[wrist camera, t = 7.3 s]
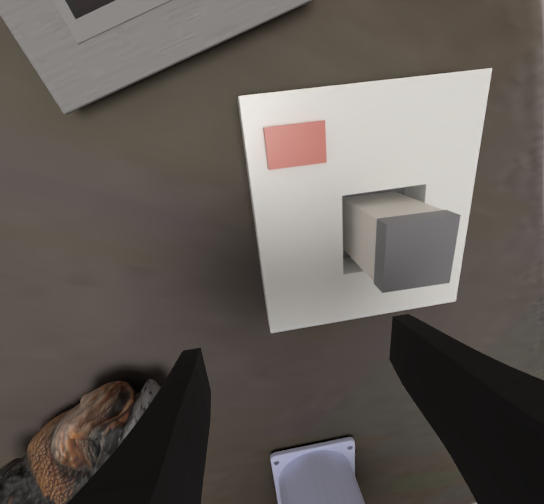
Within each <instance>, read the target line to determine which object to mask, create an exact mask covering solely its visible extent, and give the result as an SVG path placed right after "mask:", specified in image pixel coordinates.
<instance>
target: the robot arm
mask: <svg viewBox="0 0 544 504" xmlns="http://www.w3.org/2000/svg"><path fill="white" fill-rule="evenodd" d="M390 361H391V363H392V365H393V367H394V369H395V371H396V373H397V375H398V377H399V379H400V380H401V382H402V384H403V386H404V387H405V389H406V390H407V392H408V393H409V395H410V396H411V398H412V399H413V401H414V402H415V403H416V405H417V406H418V408H419V409H420V411H421V412H422V414H423V415H424V417H425V418H426V419H427V421H428V422H429V424H430V425H431V427H432V428H433V430H434V431H435V432H436V434H437V435H438V437H439V438H440V440H441V441H442V443H443V444H444V446H445V447H446V449H447V451H448V452H449V454H450V455H451V457H452V459H453V460H454V462H455V464H456V466H457V467H458V469H459V471H460V473H461V474H462V476H463V478H464V480H465V482H466V483H467V485H468V487H469V489H470V490H471V492H472V494H473V496H474V498H475V500H476V502H477V503H478V504H544V380H541V379H539V378H536V377H534V376H531V375H529V374H527V373H524V372H522V371H519V370H517V369H515V368H512V367H510V366H508V365H506V364H504V363H501V362H499V361H497V360H495V359H493V358H491V357H489V356H487V355H485V354H483V353H481V352H479V351H477V350H475V349H473V348H471V347H469V346H467V345H465V344H463V343H461V342H459V341H457V340H455V339H454V338H452V337H450V336H448V335H446V334H444V333H443V332H441V331H439V330H437V329H435V328H433V327H432V326H430V325H428V324H426V323H424V322H422V321H421V320H419V319H417V318H415V317H413V316H411V315H409V314H406V315H400V316H394V317H393V320H392V333H391V346H390ZM210 411H211V390H210V385H209V381H208V377H207V373H206V369H205V364H204V360H203V356H202V352H201V348H197V349H191V350H185V351H183V352H182V353H181V355H180V356H179V358H178V360H177V361H176V363H175V365H174V367H173V368H172V370H171V372H170V373H169V375H168V377H167V378H166V380H165V381H164V383H163V385H162V386H161V388H160V389H159V391H158V392H157V394H156V395H155V397H154V398H153V400H152V401H151V403H150V404H149V406H148V407H147V409H146V410H145V411H144V413H143V414H142V416H141V417H140V418H139V420H138V421H137V423H136V424H135V425H134V427H133V428H132V429H131V431H130V432H129V433H128V435H127V436H126V437H125V438H124V440H123V441H122V442H121V443H120V445H119V446H118V447H117V448H116V450H115V451H114V452H113V453H112V454H111V456H110V457H109V458H108V459H107V460H106V461H105V463H104V464H103V465H102V466H101V467H100V468H99V469H98V470H97V472H96V473H95V474H94V475H93V476H92V477H91V478H90V479H89V480H88V481H87V483H86V484H85V485H84V486H83V487H82V488H81V489H80V490H79V491H78V492H77V493H76V494H75V496H74V497H73V498H72V499H71V500H70V501H69V502H68V503H67V504H201V495H202V485H203V477H204V469H205V460H206V452H207V444H208V435H209V427H210ZM270 460H271V466H272V471H273V477H274V483H275V489H276V495H277V501H278V504H365V502H364V500H363V497H362V494H361V491H360V488H359V486H358V483H357V480H356V477H355V441H354V439H353V438H352V437H346V438H341V439H336V440H332V441H327V442H322V443H317V444H312V445H307V446H302V447H297V448H293V449H288V450H283V451H278V452H274V453H272V454H271V455H270Z"/></svg>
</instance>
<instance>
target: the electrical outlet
mask: <svg viewBox="0 0 544 504" xmlns="http://www.w3.org/2000/svg"><path fill="white" fill-rule="evenodd" d="M311 1H313V0H0V16H1V17H2V19H3V20H4V22H5V23H6V25H7V27H8V28H9V30H10V31H11V33H12V34H13V36H14V37H15V39H16V40H17V42H18V44H19V45H20V47H21V48H22V50H23V51H24V53H25V54H26V56H27V58H28V59H29V61H30V62H31V64H32V65H33V67H34V68H35V70H36V72H37V73H38V75H39V76H40V78H41V79H42V81H43V82H44V84H45V85H46V87H47V89H48V90H49V92H50V93H51V95H52V96H53V98H54V99H55V101H56V103H57V104H58V106H59V107H60V109H61V110H62V112H63V113H64V114H69V113H71V112H73V111H75V110H78V109H80V108H82V107H84V106H86V105H88V104H90V103H93V102H95V101H97V100H99V99H101V98H103V97H106V96H108V95H110V94H112V93H114V92H116V91H119V90H121V89H123V88H125V87H127V86H129V85H131V84H134V83H136V82H138V81H140V80H142V79H144V78H147V77H149V76H151V75H153V74H155V73H157V72H160V71H162V70H164V69H166V68H168V67H170V66H172V65H175V64H177V63H179V62H181V61H183V60H185V59H188V58H190V57H192V56H194V55H196V54H198V53H201V52H203V51H205V50H207V49H209V48H211V47H213V46H216V45H218V44H220V43H222V42H224V41H226V40H229V39H231V38H233V37H235V36H237V35H239V34H241V33H244V32H246V31H248V30H250V29H252V28H254V27H257V26H259V25H261V24H263V23H265V22H267V21H270V20H272V19H274V18H276V17H278V16H280V15H282V14H285V13H287V12H289V11H291V10H293V9H295V8H298V7H300V6H302V5H304V4H306V3H308V2H311Z"/></svg>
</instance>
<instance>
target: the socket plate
mask: <svg viewBox="0 0 544 504" xmlns="http://www.w3.org/2000/svg"><path fill="white" fill-rule="evenodd" d="M491 73H492V68H489V69H479V70H470V71H461V72H452V73H443V74H434V75H425V76H416V77H407V78H398V79H389V80H380V81H370V82H361V83H352V84H343V85H334V86H325V87H316V88H307V89H298V90H289V91H280V92H270V93H261V94H252V95H243V96H238V100H237V101H238V109H239V116H240V123H241V130H242V138H243V145H244V152H245V160H246V167H247V174H248V181H249V189H250V196H251V203H252V210H253V218H254V225H255V232H256V239H257V247H258V254H259V261H260V268H261V276H262V283H263V290H264V297H265V305H266V312H267V317H268V322H269V327H270V332H271V333H276V332H282V331H287V330H293V329H299V328H305V327H310V326H316V325H322V324H328V323H333V322H339V321H345V320H351V319H356V318H362V317H368V316H374V315H380V314H385V313H391V312H397V311H403V310H408V309H414V308H420V307H426V306H431V305H437V304H443V303H449V302H454V301H456V297H457V290H458V284H459V277H460V271H461V265H462V258H463V252H464V246H465V239H466V233H467V226H468V220H469V214H470V207H471V201H472V194H473V188H474V182H475V175H476V169H477V162H478V156H479V150H480V143H481V137H482V130H483V124H484V118H485V111H486V105H487V98H488V92H489V86H490V79H491ZM393 191H395V192H398V193H400V194H403V195H405V196H408V197H411V198H413V199H416V200H418V201H421V202H424V203H426V204H429V205H431V206H434V207H437V208H439V209H442V210H448V211H451V212H454V213H456V214H459V215H461V216H460V222H459V228H458V234H457V241H456V247H455V253H454V259H453V265H452V271H451V277H450V283H446V284H439V285H432V286H426V287H419V288H412V289H406V290H399V291H392V292H386V293H382V292H381V291H380V290H379V289H378V288H377V287H376V286H375V284H374V281H373V280H372V279H371V278H370V277H369V276H368V275H367V274H366V273H365V272H364V271H363V270H362V269H361V268H360V267H359V265H358V264H357V263H356V262H355V261H354V260H353V259H352V258H351V257H350V256H349V255H348V254H347V253H346V252H345V251H344V249H343V221H342V198H343V197H352V196H360V195H368V194H377V193H385V192H393Z"/></svg>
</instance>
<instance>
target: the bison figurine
mask: <svg viewBox="0 0 544 504" xmlns="http://www.w3.org/2000/svg"><path fill="white" fill-rule="evenodd" d="M160 388H161V387H160V386H159V384H158V383H157V382H156V381H154V380H152V379H149V380H147V382H146V383H145V384H144V386H143V388H142V390H141V391H140V392H136V391H135V390H134V389H133V388H132V386H131V385H130V383H128V382H125V381H114V382H109V383H106V384H104V385H102V386H101V387H99V388H97V389H95V390H93V391H91V392H89V393H87V394H85V395H84V396H83V397H82V399H81V401H80V404H78V405H77V406H75V407H74V408H72V409H70V410H68V411H66V412H63V413H62V414H60V415H58V416H57V417H55V418H54V419H52V420H51V421H49V422H48V423H47V424H46V425H45V426H44V427H43V428H42V429H41V430H40V431H39V432H38V433H37V434H36V435H35V436H34V437H33V438H32V440H31V441H30V443H29V445H28V449H27V453H26V455H25V456H24V457H22V458H17V459H14V460H12V461H11V462H9V463H8V464H6V465H5V466H3V467H2V468H1V469H0V504H67V503H68V502H69V501H70V500H71V499H72V498H73V497H74V496H75V494H76V493H77V492H78V491H79V490H80V489H81V488H82V487H83V486H84V485H85V484H86V483H87V481H88V480H89V479H90V478H91V477H92V476H93V475H94V474H95V473H96V472H97V470H98V469H99V468H100V467H101V466H102V465H103V464H104V463H105V461H106V460H107V459H108V458H109V457H110V456H111V454H112V453H113V452H114V451H115V450H116V448H117V447H118V446H119V445H120V443H121V442H122V441H123V440H124V438H125V437H126V436H127V435H128V433H129V432H130V431H131V429H132V428H133V427H134V425H135V424H136V423H137V421H138V420H139V418H140V417H141V416H142V414H143V413H144V411H145V410H146V409H147V407H148V406H149V404H150V403H151V401H152V400H153V398H154V397H155V395H156V394H157V392H158V391H159V389H160Z"/></svg>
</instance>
